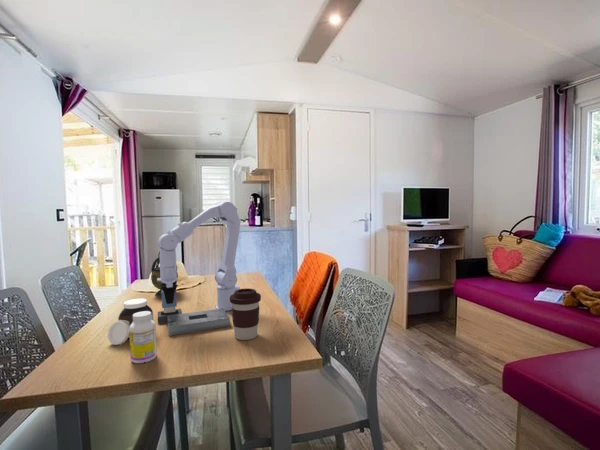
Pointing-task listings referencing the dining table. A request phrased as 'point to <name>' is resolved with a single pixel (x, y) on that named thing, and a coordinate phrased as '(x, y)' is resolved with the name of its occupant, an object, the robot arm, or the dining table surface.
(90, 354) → the dining table surface
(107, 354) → the dining table surface
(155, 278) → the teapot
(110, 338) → the spread jar
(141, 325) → the supplement bottle
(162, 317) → the holster
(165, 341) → the dining table surface
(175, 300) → the plug
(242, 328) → the coffee cup
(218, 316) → the panel
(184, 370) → the dining table surface
